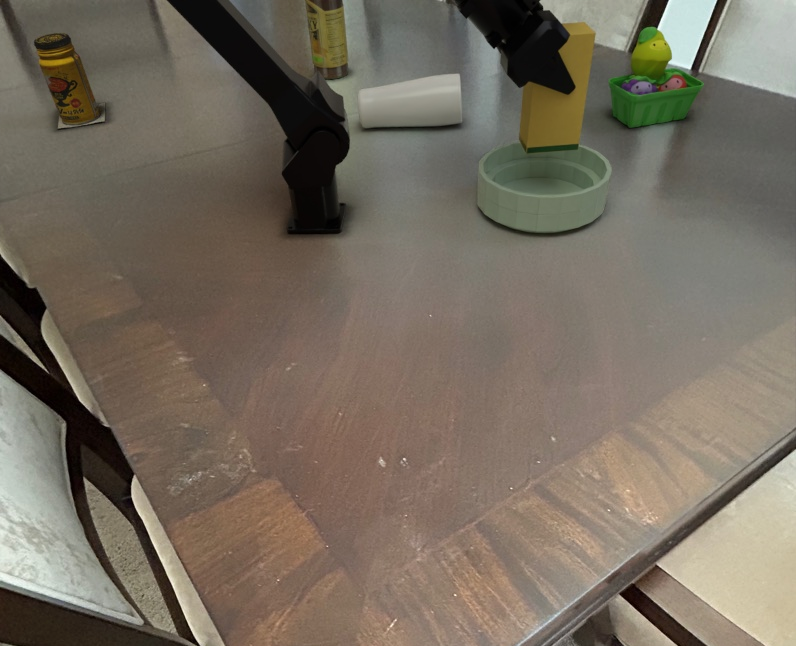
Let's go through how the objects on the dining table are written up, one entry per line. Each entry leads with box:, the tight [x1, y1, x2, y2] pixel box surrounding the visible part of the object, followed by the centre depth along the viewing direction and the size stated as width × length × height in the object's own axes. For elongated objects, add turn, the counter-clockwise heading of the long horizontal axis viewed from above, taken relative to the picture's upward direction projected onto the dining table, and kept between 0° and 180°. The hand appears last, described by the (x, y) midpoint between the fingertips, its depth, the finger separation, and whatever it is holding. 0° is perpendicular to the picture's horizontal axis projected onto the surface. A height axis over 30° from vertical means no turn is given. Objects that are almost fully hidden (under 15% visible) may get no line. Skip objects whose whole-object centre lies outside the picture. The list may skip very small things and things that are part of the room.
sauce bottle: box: [304, 0, 349, 80], centre depth 112 cm, size 6×6×20 cm
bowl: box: [476, 140, 613, 234], centre depth 80 cm, size 15×15×5 cm
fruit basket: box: [608, 26, 705, 129], centre depth 95 cm, size 11×9×11 cm
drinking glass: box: [357, 72, 463, 129], centre depth 99 cm, size 7×7×15 cm
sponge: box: [518, 21, 597, 154], centre depth 73 cm, size 6×4×12 cm, turn 95°
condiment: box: [33, 32, 106, 129], centre depth 105 cm, size 7×8×12 cm
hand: (566, 84), depth 73 cm, fingers closed on sponge, 4 cm apart
